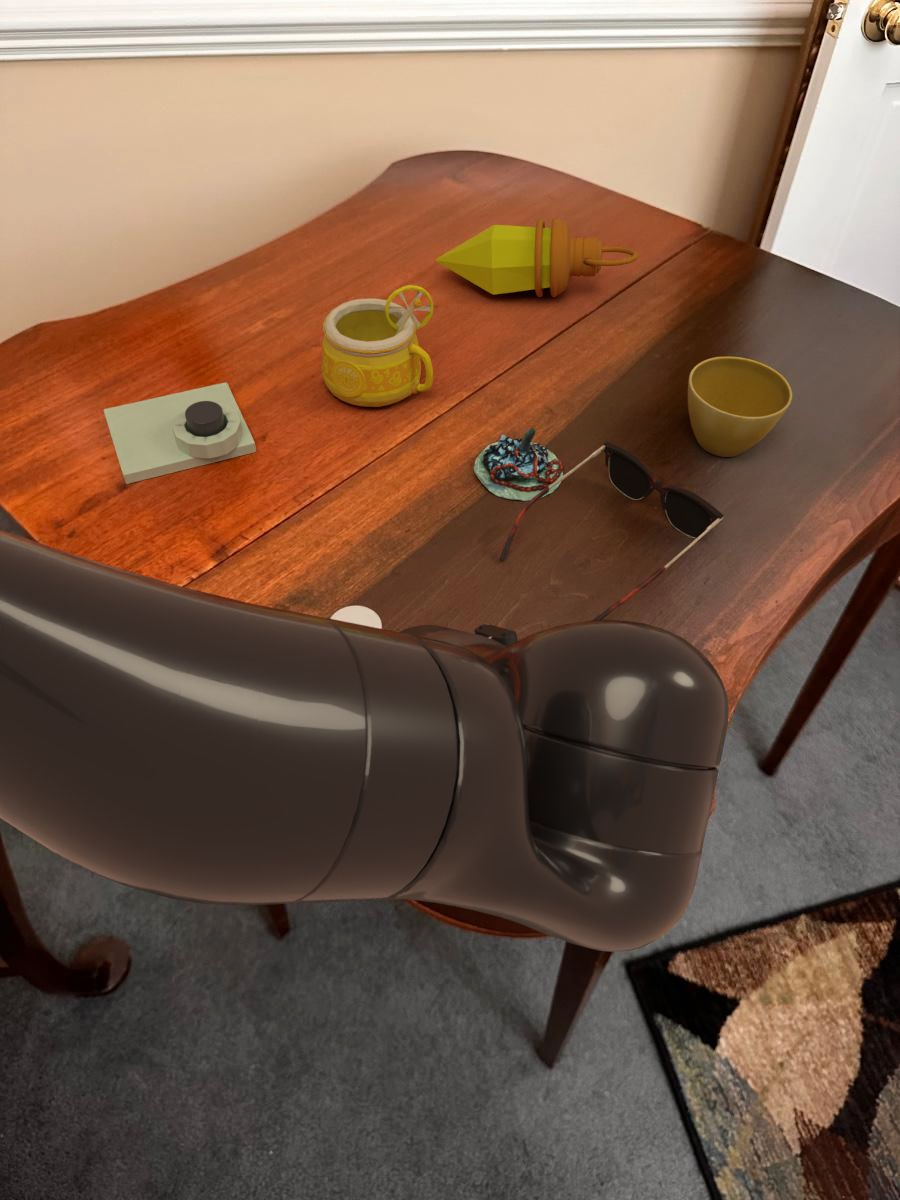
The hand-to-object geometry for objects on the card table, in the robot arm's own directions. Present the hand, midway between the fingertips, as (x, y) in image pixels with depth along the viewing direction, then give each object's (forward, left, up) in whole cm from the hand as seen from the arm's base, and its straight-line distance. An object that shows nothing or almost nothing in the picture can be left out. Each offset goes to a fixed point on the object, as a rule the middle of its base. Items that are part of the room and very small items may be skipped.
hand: (377, 667), depth 60 cm
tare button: (-4, +39, -7) cm, 39 cm away
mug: (+16, +42, -9) cm, 46 cm away
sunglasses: (+26, +11, -9) cm, 30 cm away
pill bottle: (0, +5, -9) cm, 11 cm away
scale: (-6, +42, -9) cm, 43 cm away
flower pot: (+46, +20, -9) cm, 51 cm away
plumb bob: (+41, +54, -9) cm, 68 cm away
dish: (+24, +24, -9) cm, 35 cm away
